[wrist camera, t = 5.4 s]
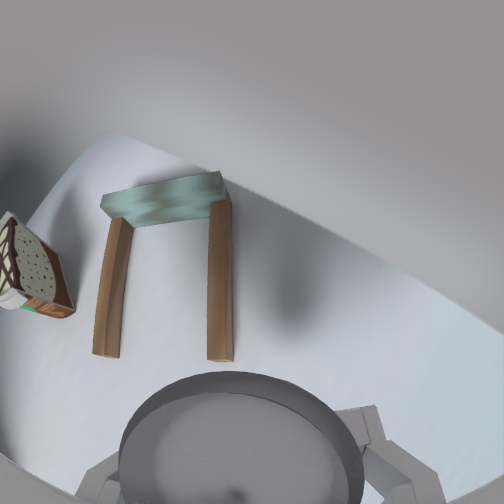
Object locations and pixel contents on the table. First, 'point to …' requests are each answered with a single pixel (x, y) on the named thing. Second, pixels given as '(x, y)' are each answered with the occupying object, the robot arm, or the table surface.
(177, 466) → the drinking glass
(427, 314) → the table surface
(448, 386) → the table surface
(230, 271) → the keeper cradle
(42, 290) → the food container
